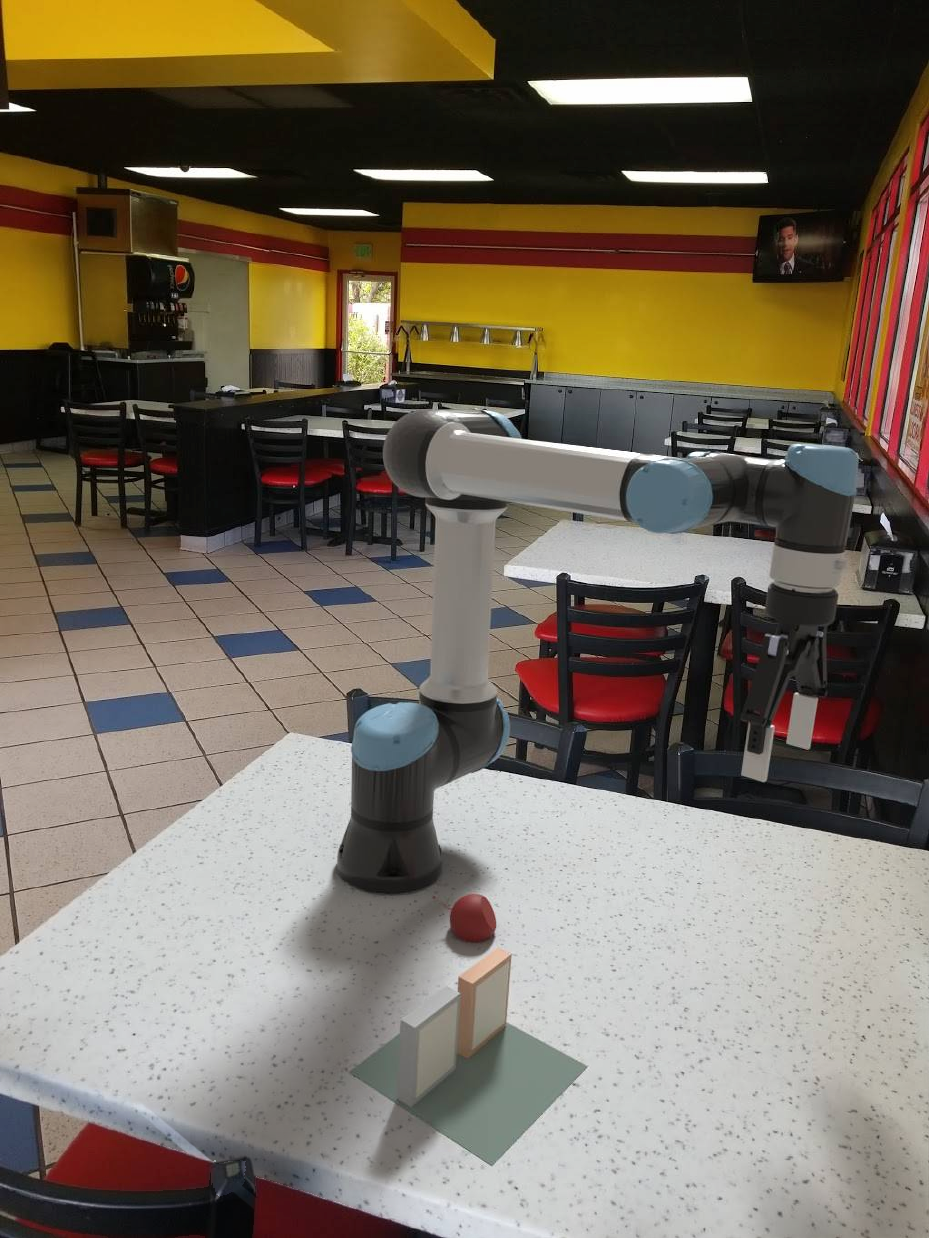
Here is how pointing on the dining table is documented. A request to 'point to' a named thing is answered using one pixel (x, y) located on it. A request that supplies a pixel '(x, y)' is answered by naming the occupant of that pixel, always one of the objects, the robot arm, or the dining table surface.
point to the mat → (483, 1089)
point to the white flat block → (428, 1045)
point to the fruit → (472, 918)
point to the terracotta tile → (483, 1001)
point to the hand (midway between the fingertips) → (776, 761)
